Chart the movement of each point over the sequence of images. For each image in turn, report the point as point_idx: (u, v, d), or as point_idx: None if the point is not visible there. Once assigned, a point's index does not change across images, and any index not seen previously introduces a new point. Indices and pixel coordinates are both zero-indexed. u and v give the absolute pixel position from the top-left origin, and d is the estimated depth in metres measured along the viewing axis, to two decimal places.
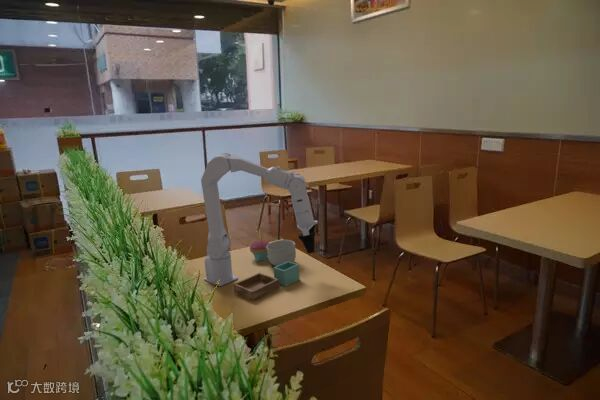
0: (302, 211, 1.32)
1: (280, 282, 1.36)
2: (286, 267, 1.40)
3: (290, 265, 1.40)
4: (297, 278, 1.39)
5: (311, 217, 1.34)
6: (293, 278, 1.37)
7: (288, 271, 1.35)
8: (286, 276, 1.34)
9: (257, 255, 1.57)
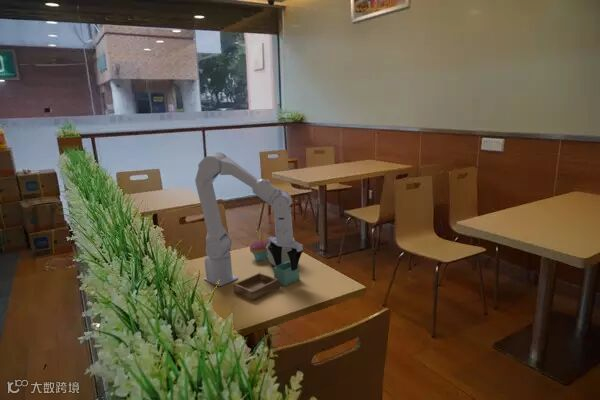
0: (282, 229, 1.31)
1: (280, 282, 1.36)
2: (286, 267, 1.40)
3: (290, 265, 1.40)
4: (297, 278, 1.39)
5: None
6: (293, 278, 1.37)
7: (288, 271, 1.35)
8: (286, 276, 1.34)
9: (257, 255, 1.57)
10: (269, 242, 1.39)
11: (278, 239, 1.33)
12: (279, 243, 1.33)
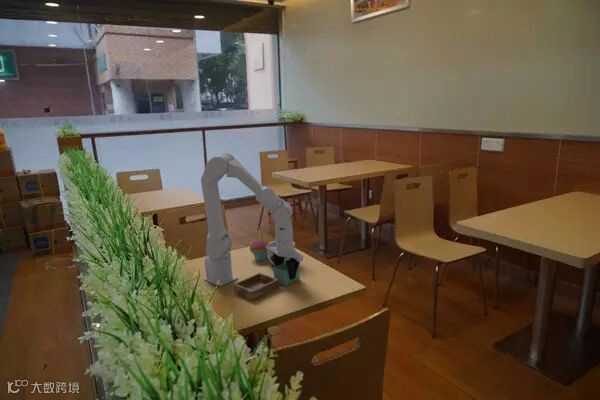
0: (283, 240, 1.32)
1: (280, 282, 1.36)
2: (286, 267, 1.40)
3: None
4: (297, 278, 1.39)
5: None
6: None
7: (288, 271, 1.35)
8: (286, 276, 1.34)
9: (257, 255, 1.57)
10: (270, 252, 1.40)
11: (279, 249, 1.34)
12: (280, 253, 1.34)
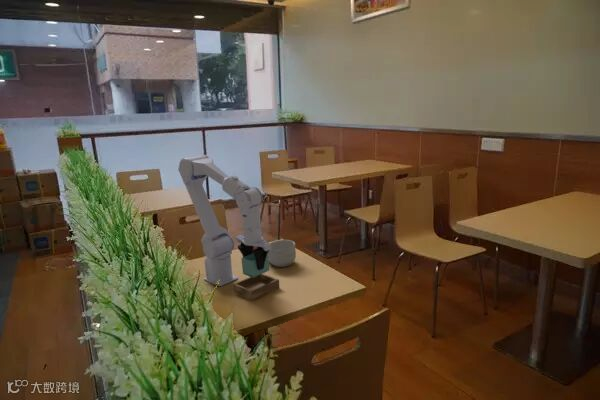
0: (245, 227, 1.25)
1: (248, 273, 1.29)
2: None
3: None
4: (267, 269, 1.32)
5: None
6: (262, 269, 1.30)
7: None
8: (254, 267, 1.27)
9: None
10: (237, 241, 1.33)
11: (245, 238, 1.26)
12: (246, 242, 1.26)
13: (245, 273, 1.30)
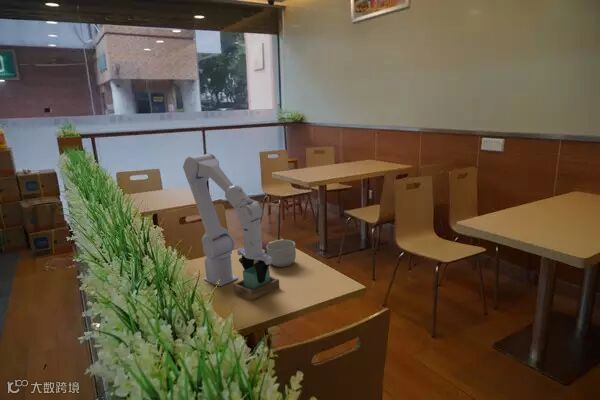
0: (246, 241, 1.26)
1: (249, 286, 1.30)
2: None
3: None
4: (268, 282, 1.33)
5: None
6: (263, 282, 1.31)
7: None
8: (255, 280, 1.28)
9: None
10: (239, 253, 1.34)
11: (246, 251, 1.27)
12: (248, 255, 1.27)
13: (246, 286, 1.31)
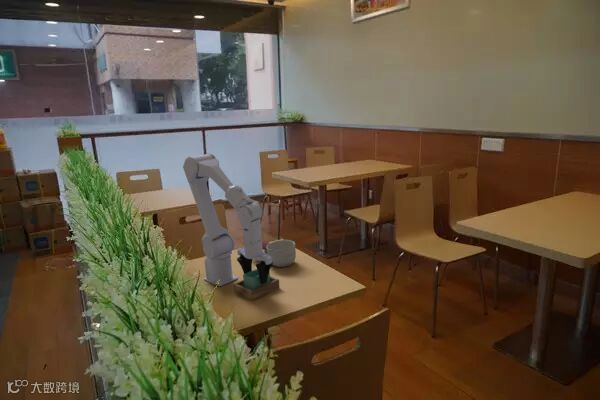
0: (246, 241, 1.26)
1: None
2: (257, 274, 1.35)
3: None
4: None
5: None
6: None
7: (258, 278, 1.29)
8: (255, 284, 1.29)
9: None
10: (239, 253, 1.34)
11: (246, 251, 1.27)
12: (248, 255, 1.27)
13: None
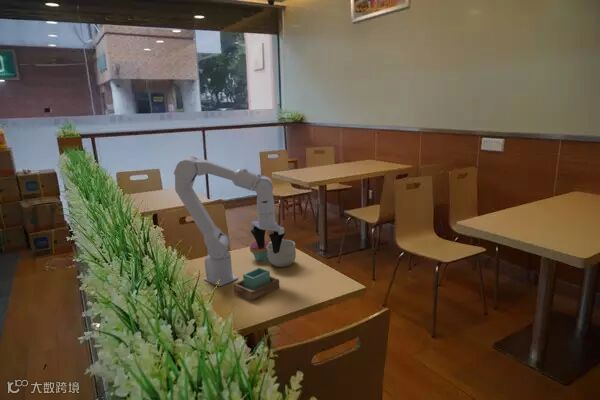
0: (266, 213, 1.34)
1: None
2: (257, 274, 1.35)
3: (261, 272, 1.35)
4: None
5: None
6: None
7: (258, 278, 1.29)
8: (255, 284, 1.29)
9: (257, 255, 1.57)
10: (252, 226, 1.42)
11: (260, 222, 1.36)
12: (261, 226, 1.36)
13: None
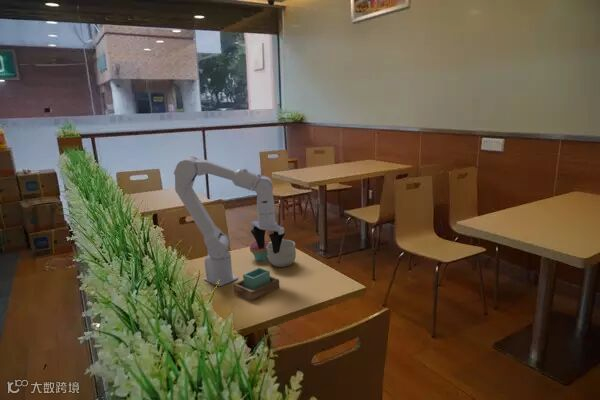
0: (266, 213, 1.34)
1: None
2: (257, 274, 1.35)
3: (261, 272, 1.35)
4: None
5: None
6: None
7: (258, 278, 1.29)
8: (255, 284, 1.29)
9: (257, 255, 1.57)
10: (252, 226, 1.42)
11: (260, 222, 1.36)
12: (261, 226, 1.36)
13: None
